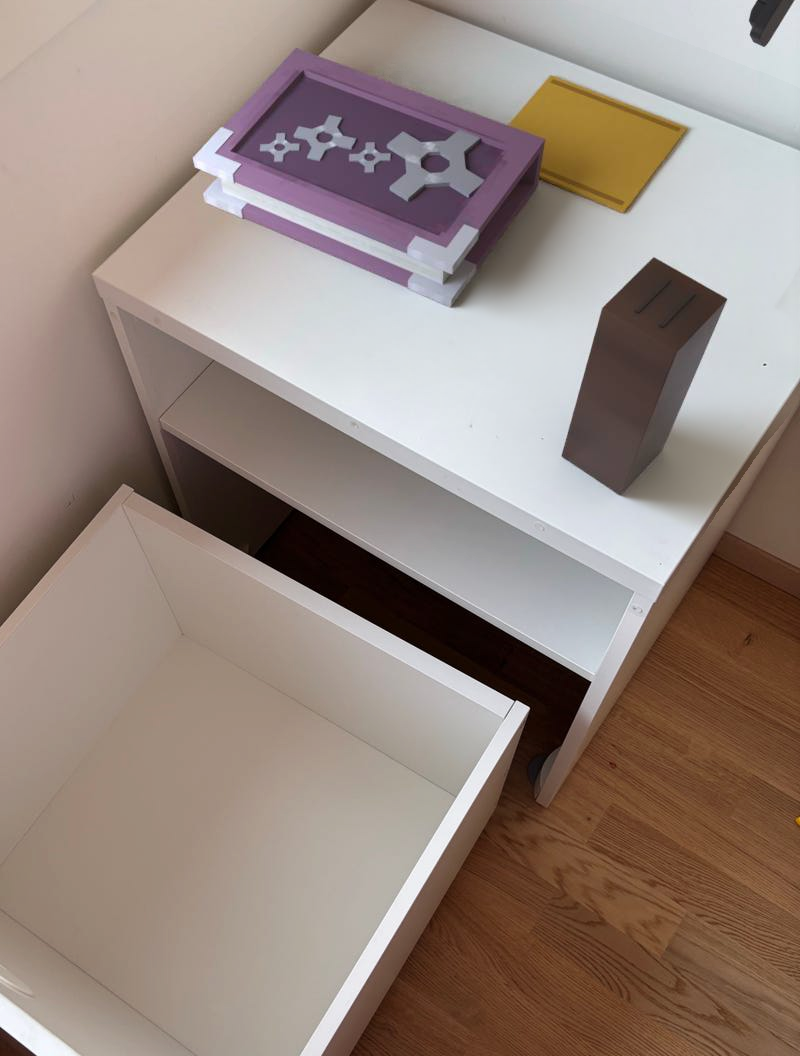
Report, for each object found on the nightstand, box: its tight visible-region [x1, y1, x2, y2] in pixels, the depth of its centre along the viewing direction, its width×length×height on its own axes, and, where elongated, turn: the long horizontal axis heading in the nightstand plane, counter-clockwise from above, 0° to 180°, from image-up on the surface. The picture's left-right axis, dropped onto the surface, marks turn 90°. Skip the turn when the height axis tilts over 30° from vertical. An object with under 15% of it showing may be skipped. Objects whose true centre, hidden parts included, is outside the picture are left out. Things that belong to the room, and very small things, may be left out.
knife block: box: [561, 256, 728, 496], centre depth 69 cm, size 6×6×16 cm
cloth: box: [507, 74, 688, 214], centre depth 90 cm, size 14×12×1 cm
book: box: [192, 47, 545, 308], centre depth 87 cm, size 25×16×5 cm, turn 58°
